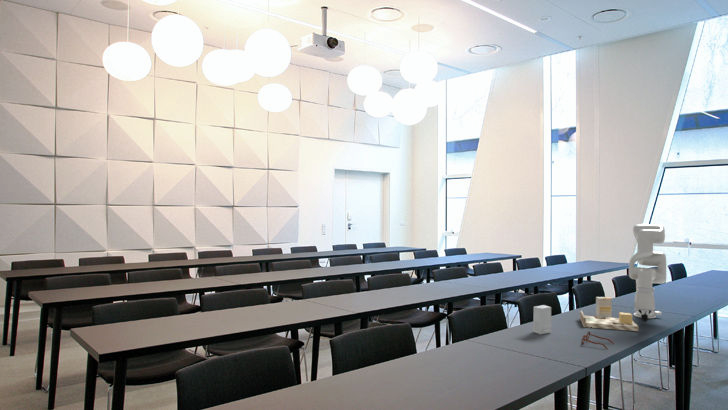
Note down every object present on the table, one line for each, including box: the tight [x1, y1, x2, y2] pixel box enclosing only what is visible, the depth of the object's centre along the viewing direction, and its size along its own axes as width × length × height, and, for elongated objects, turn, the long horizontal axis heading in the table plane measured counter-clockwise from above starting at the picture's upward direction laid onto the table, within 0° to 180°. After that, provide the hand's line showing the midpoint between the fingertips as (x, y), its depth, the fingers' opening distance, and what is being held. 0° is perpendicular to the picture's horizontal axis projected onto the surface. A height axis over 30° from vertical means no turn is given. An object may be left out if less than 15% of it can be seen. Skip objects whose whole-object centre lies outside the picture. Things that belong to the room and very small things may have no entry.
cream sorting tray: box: [579, 310, 640, 332], centre depth 293 cm, size 29×20×6 cm
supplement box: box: [595, 296, 613, 318], centre depth 312 cm, size 8×5×13 cm, turn 84°
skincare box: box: [532, 304, 552, 335], centre depth 275 cm, size 8×6×15 cm
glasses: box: [581, 331, 615, 350], centre depth 253 cm, size 13×13×5 cm
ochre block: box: [618, 311, 633, 324], centre depth 290 cm, size 6×6×5 cm
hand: (644, 321), depth 287 cm, fingers closed
